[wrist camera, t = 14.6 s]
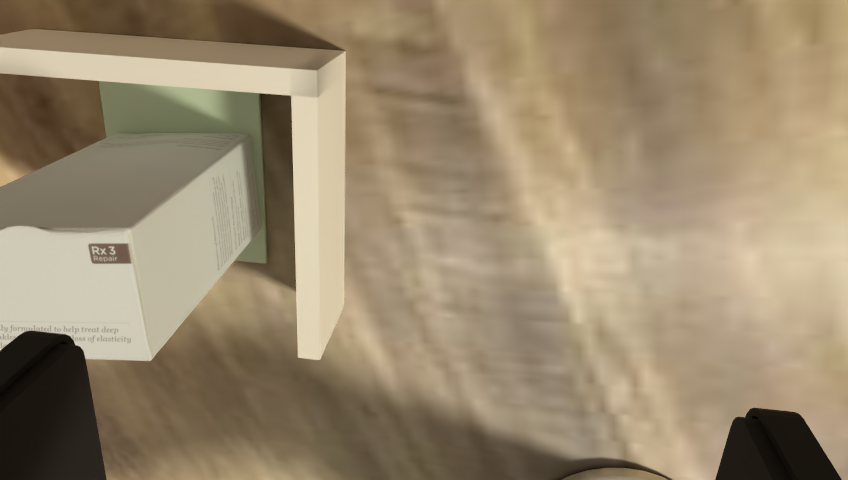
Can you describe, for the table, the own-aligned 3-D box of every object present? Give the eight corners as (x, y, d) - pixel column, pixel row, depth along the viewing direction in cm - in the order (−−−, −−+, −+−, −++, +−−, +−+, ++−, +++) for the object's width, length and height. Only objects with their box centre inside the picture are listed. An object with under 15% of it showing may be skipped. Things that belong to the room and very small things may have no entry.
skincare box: (134, 224, 41) (-50, 364, 27) (114, 125, 38) (-98, 224, 25) (270, 228, 40) (150, 374, 26) (259, 126, 38) (120, 230, 24)
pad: (267, 261, 41) (266, 263, 41) (124, 247, 42) (121, 249, 42) (259, 77, 37) (257, 78, 37) (99, 65, 37) (96, 66, 37)
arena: (344, 305, 42) (320, 360, 36) (75, 278, 43) (13, 327, 38) (345, 50, 36) (317, 70, 30) (33, 28, 37) (-49, 43, 32)
